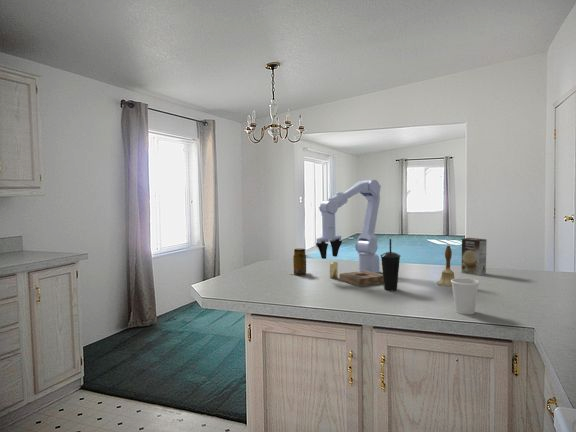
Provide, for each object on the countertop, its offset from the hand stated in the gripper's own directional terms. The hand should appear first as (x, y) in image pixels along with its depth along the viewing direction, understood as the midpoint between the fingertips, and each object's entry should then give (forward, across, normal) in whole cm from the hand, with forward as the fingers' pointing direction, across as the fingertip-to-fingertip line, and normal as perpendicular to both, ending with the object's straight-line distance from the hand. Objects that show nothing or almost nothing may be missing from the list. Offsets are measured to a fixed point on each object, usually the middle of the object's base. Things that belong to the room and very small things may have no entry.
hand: (329, 257), depth 192 cm
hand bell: (+10, -23, +44) cm, 51 cm away
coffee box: (+10, -52, +42) cm, 68 cm away
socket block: (+9, -4, +15) cm, 18 cm away
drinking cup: (+10, +1, +32) cm, 34 cm away
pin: (+9, -2, +1) cm, 10 cm away
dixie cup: (+10, +12, +67) cm, 69 cm away
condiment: (+10, +2, -17) cm, 19 cm away
